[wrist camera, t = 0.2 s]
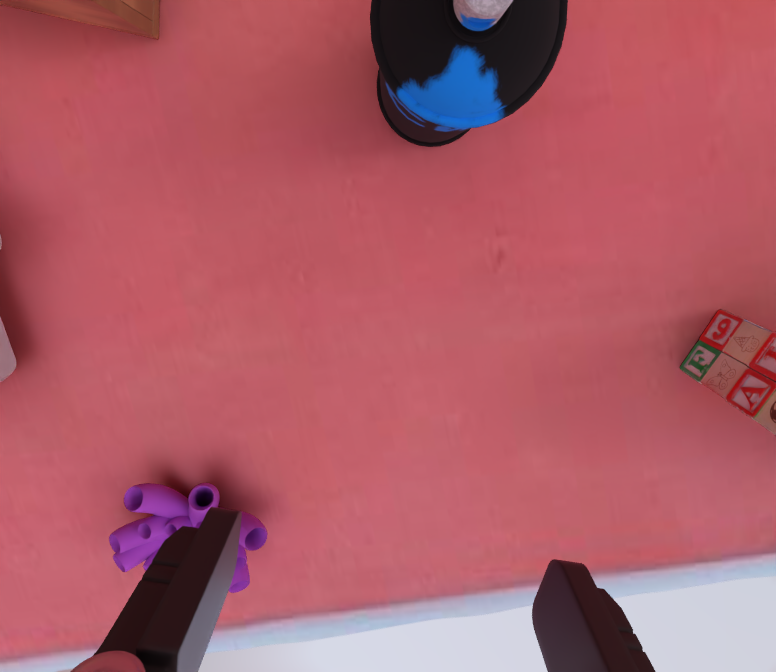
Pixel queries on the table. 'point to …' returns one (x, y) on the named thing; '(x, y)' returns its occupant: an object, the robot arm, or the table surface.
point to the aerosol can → (461, 61)
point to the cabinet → (100, 13)
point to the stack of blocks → (737, 365)
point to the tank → (5, 350)
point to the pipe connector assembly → (176, 526)
